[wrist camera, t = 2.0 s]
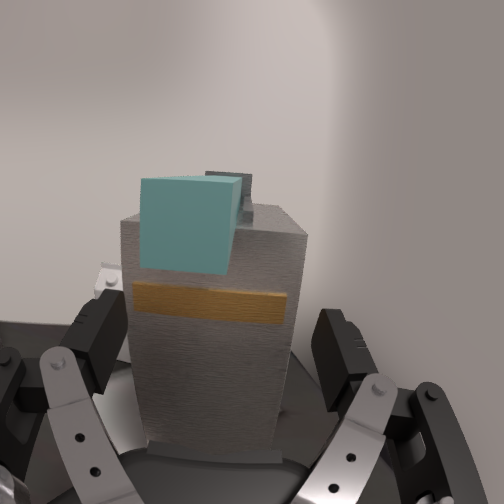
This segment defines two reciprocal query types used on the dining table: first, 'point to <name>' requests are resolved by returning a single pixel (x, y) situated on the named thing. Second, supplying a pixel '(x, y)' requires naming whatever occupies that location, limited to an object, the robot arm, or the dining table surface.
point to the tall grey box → (216, 333)
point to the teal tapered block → (188, 222)
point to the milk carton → (113, 280)
